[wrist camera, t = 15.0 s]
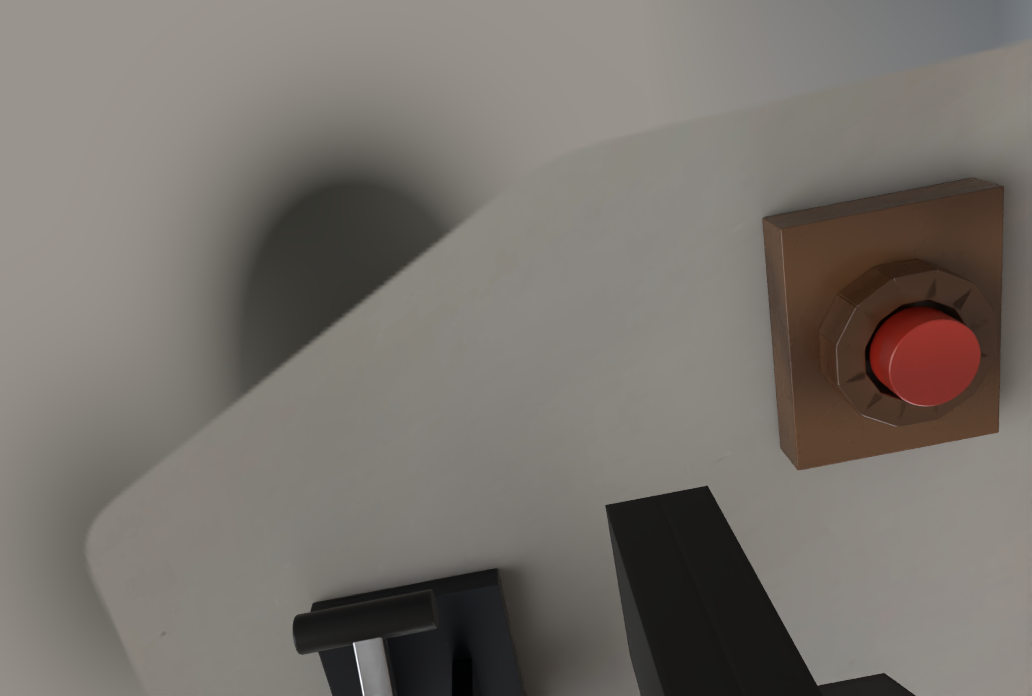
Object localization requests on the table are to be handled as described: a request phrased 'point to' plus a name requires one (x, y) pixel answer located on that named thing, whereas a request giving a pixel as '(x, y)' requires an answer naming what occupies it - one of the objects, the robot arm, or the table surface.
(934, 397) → the button
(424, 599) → the lever
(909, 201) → the button block
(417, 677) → the bracket
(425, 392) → the table surface
